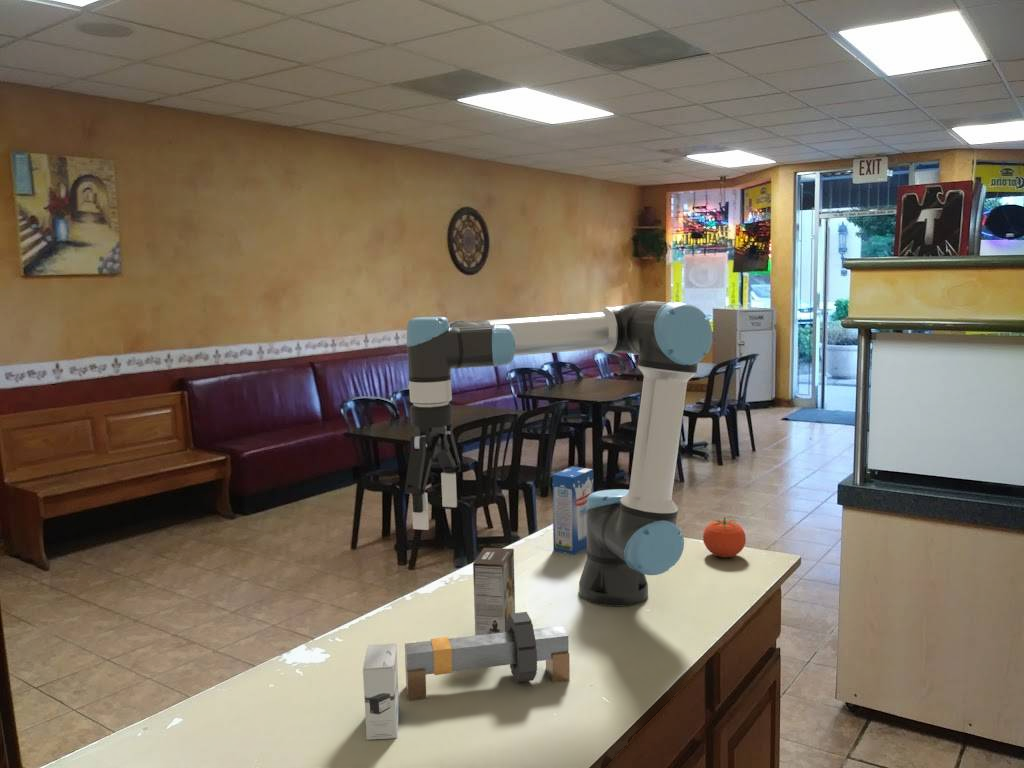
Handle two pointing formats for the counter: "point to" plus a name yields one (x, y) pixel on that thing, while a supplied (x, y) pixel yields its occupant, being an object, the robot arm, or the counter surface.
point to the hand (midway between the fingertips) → (436, 517)
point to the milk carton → (571, 509)
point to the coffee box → (493, 590)
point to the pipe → (481, 656)
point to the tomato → (724, 538)
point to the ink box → (381, 691)
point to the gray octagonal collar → (523, 646)
